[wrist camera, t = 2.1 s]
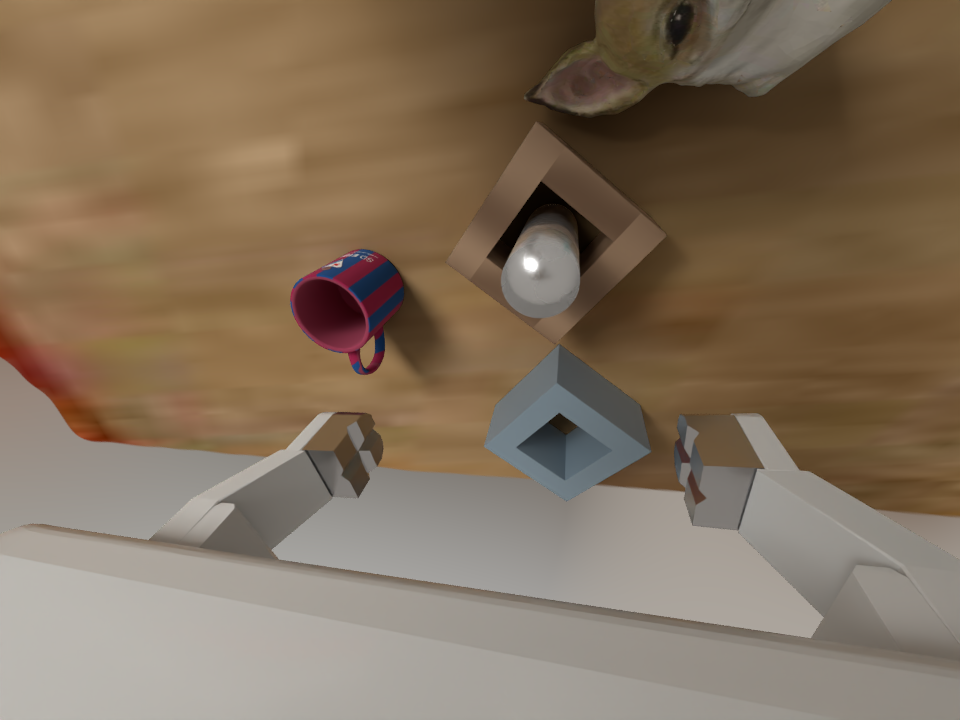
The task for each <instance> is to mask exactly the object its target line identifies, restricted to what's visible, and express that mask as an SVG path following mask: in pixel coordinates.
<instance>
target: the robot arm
mask: <svg viewBox="0 0 960 720" xmlns="http://www.w3.org/2000/svg"><path fill="white" fill-rule="evenodd" d="M374 425H375V422H374V420H373V418H372V416H371V415H370V414H367V413H351V412H323V413H320V414H318V415H317V416H316V417H315V419H314V420H313V421H312V422H311V423H310V424H309V425H308V426H307V427H306V428H305V429H304V430H303V431H302V432H301V434H300V435H299V436H298V437H297V438H296V439H295V440H294V441H293V442H292V443H291V444H290V445H289V446H288V448H287V449H286V450H280V451H278V452H276V453H274V454H272V455H271V456H269V457H267V458H265V459H263V460H261V461H260V462H258V463H256V464H254V465H252V466H251V467H249V468H247V469H245V470H243V471H242V472H240V473H238V474H236V475H234V476H232V477H231V478H229V479H227V480H225V481H223V482H221V483H220V484H218V485H216V486H214V487H212V488H210V489H209V490H207V491H205V492H203V493H201V494H199V495H198V496H196V497H194V498H192V500H190V501H189V502H188V503H187V504H186V505H185V506H184V507H183V508H182V509H181V510H180V511H179V512H178V513H177V514H175V515H174V516H173V517H172V518H171V519H170V520H169V521H168V522H167V523H166V524H165V525H164V526H163V527H162V528H161V529H160V530H159V531H158V532H157V533H155V534H154V535H153V536H152V537H151V538H150V539H149V540H143V539H137V538H131V537H124V536H117V535H110V534H104V533H97V532H90V531H83V530H76V529H70V528H63V527H57V526H51V525H45V524H28V525H23V526H20V527H17V528H14V529H11V530H8V531H6V532H3V533H1V534H0V720H960V560H959V559H958V558H956V557H954V556H953V555H951V554H949V553H948V552H946V551H944V550H942V549H941V548H939V547H937V546H936V545H934V544H932V543H931V542H929V541H927V540H925V539H923V538H922V537H920V536H919V535H916V534H915V533H913V532H912V531H910V530H908V529H906V528H905V527H903V526H902V525H899V524H898V523H896V522H895V521H893V520H891V519H890V518H888V517H886V516H885V515H883V514H881V513H879V512H878V511H876V510H874V509H873V508H871V507H869V506H868V505H866V504H864V503H862V502H861V501H859V500H857V499H856V498H854V497H852V496H851V495H849V494H847V493H845V492H844V491H842V490H840V489H839V488H837V487H835V486H833V485H832V484H830V483H828V482H827V481H825V480H823V479H822V478H820V477H818V476H816V475H815V474H813V473H811V472H810V471H800V470H799V469H798V467H797V466H796V464H795V463H794V461H793V460H792V458H791V457H790V455H789V454H788V453H787V451H786V450H785V448H784V447H783V445H782V444H781V442H780V441H779V439H778V438H777V437H776V435H775V434H774V432H773V431H772V429H771V428H770V426H769V425H768V423H767V422H766V421H765V419H764V418H763V416H761V415H760V414H758V413H745V414H680V416H679V419H678V425H677V429H678V432H679V435H680V438H679V439H678V440H677V441H676V442H675V450H674V458H675V468H676V473H677V477H678V480H679V483H680V484H681V485H683V486H684V487H685V488H686V490H685V497H684V500H685V503H686V506H687V510H688V513H689V516H690V519H691V522H692V525H693V526H701V527H712V528H720V529H721V528H722V529H730V530H739V532H738V533H739V534H740V535H741V536H743V537H744V539H746V541H748V542H749V544H751V545H752V546H753V547H754V548H755V549H756V550H757V551H758V552H759V553H760V554H761V555H762V556H763V557H764V558H765V559H766V560H767V561H768V562H769V563H770V564H771V565H772V566H773V567H774V568H775V569H776V570H777V571H778V572H779V573H780V574H781V575H782V576H783V577H784V578H785V579H786V580H787V581H788V582H789V583H790V584H791V585H792V586H793V587H794V588H795V589H796V590H797V591H798V592H799V593H800V594H801V595H802V596H803V597H804V598H805V599H806V600H807V601H808V602H809V603H810V604H811V605H812V606H813V607H814V608H815V609H816V610H817V611H818V612H819V613H820V614H821V615H822V616H823V617H824V618H823V620H822V621H821V623H820V625H819V627H818V628H817V629H816V631H815V633H814V634H813V636H812V638H805V637H798V636H791V635H785V634H778V633H771V632H764V631H758V630H751V629H744V628H737V627H731V626H724V625H717V624H710V623H704V622H696V621H690V620H683V619H677V618H670V617H663V616H656V615H650V614H643V613H636V612H629V611H623V610H616V609H609V608H602V607H596V606H589V605H582V604H575V603H569V602H562V601H555V600H548V599H542V598H535V597H527V596H521V595H515V594H508V593H501V592H494V591H487V590H481V589H474V588H467V587H460V586H454V585H447V584H440V583H433V582H427V581H419V580H413V579H406V578H399V577H393V576H386V575H379V574H372V573H365V572H359V571H352V570H345V569H338V568H331V567H325V566H318V565H311V564H304V563H298V562H291V561H284V560H279V559H278V558H277V557H276V555H275V554H274V553H273V552H272V551H271V550H272V549H273V548H274V547H275V546H276V545H278V544H279V543H280V542H281V541H282V540H283V539H285V538H286V537H287V536H288V535H290V534H291V533H292V532H293V531H294V530H295V529H297V528H298V527H299V526H300V525H301V524H303V523H304V522H305V521H306V520H307V519H309V518H310V517H311V516H312V515H313V514H315V513H316V512H317V511H318V510H319V509H320V508H321V507H323V506H324V505H325V504H326V503H328V502H329V501H330V500H331V499H332V497H345V498H359V496H360V494H361V493H362V491H363V489H364V488H365V486H366V484H367V483H368V481H369V480H370V477H369V472H370V471H372V470H373V469H375V468H376V467H377V466H378V464H379V462H380V461H381V459H382V454H383V441H382V439H381V436H380V435H379V434H378V433H377V432H376V431H375V430H373V428H374Z"/></svg>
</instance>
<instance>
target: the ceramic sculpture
mask: <svg viewBox="0 0 960 720" xmlns="http://www.w3.org/2000/svg"><path fill="white" fill-rule="evenodd" d="M890 1H892V0H596V1H595V25H596V37H595V39H594V40H593V41H585V42H583V43H580V44H578V45H576V46H574V47H572V48H570V49H569V50H568V51H566V52H565V53H564V54H563V55H562V56H561V57H560V59H559V60H558V61H557V62H556V63H555V64H554V66H553V67H552V68H551V69H550V70H549V72H548V73H547V74H546V75H545V76H544V78H543V79H542V80H541V81H540V82H539V83H538V84H536V85H535V86H534V87H532V88H531V89H530V90H529V91H527V92H526V93H525V95H524V99H525V100H527V101H530V102H533V103H536V104H540V105H545V106H546V107H548V108H549V109H551V110H555V111H559V112H563V113H568V114H571V115H577V116H582V117H586V118H592V117H595V116H599V115H608V114H618V113H620V112H622V111H624V110H626V109H627V108H629V107H631V106H633V105H635V104H637V103H638V102H639V101H641V100H642V99H643V98H644V97H645V96H646V95H647V94H648V93H649V92H650V91H652V90H653V89H654V88H655V87H657V86H658V85H660V84H664V83H676V84H679V85H681V86H683V85H691V86H696V87H701V86H703V85H704V84H728V85H732V86H733V87H735V88H736V89H737V90H739V91H741V92H743V93H745V94H746V95H747V96H749V97H757V96H761V95H764V94H766V93H767V92H768V91H770V90H771V89H772V88H773V87H775V86H776V85H777V84H778V83H780V82H781V81H782V80H784V79H785V78H787V77H788V76H790V75H791V74H792V73H794V72H795V71H797V70H798V69H800V68H801V67H802V66H804V65H805V64H806V63H808V62H809V61H810V60H812V59H813V58H814V57H816V56H817V55H818V54H820V53H821V52H823V51H824V50H825V49H827V48H828V47H829V46H831V45H832V44H834V43H835V42H836V41H838V40H839V39H841V38H842V37H844V36H845V35H847V34H848V33H850V32H851V31H853V30H854V29H856V28H858V27H859V26H861V25H862V24H864V23H865V22H866V21H867V20H868V19H870V18H871V17H872V16H873V15H875V14H876V13H877V12H878V11H880V10H881V9H882V8H883V7H884V6H886V5H887V4H888V3H889V2H890Z"/></svg>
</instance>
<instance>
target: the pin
mask: <svg viewBox="0 0 960 720" xmlns="http://www.w3.org/2000/svg"><path fill="white" fill-rule="evenodd" d="M579 286H580V266H579V242H578V224H577V221H576V218H575V216H574V215H573V213H572V212H571V211H570V210H569V209H568V208H566V207H564V206H562V205H559V204H547V205H543V206H541V207H539V208H538V209H536V210H535V211H534V212H533V213H532V214H531V215H530V217H529V218H528V220H527V222H526V224H525V226H524V228H523V230H522V232H521V234H520V236H519V238H518V240H517V242H516V244H515V246H514V248H513V250H512V252H511V254H510V256H509V258H508V260H507V262H506V264H505V266H504V268H503V271H502V275H501V287H502V291H503V294H504V297H505V298H506V300H507V302H508V303H509V304H510V305H511V306H512V307H513V308H514V309H515V310H516V311H518V312H519V313H521V314H523V315H525V316H528V317H532V318H548V317H552V316H555V315H557V314H559V313H561V312H563V311H564V310H566V309H567V308H568V307H569V306H570V305H571V304H572V303H573V301H574V300H575V298H576V296H577V294H578V291H579Z"/></svg>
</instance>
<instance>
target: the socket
mask: <svg viewBox="0 0 960 720" xmlns="http://www.w3.org/2000/svg"><path fill="white" fill-rule="evenodd" d="M558 413H560V414H562V415H563V416H565V417H566V418H567V419H569V420H570V421H572V422H573V423H574V424H576V425H577V426H578V427H576V428H575V429H574V430H572V431H571V432H570V433H568V434H567V435H565V434H564V433H562V432H561V431H560V430H558V429H557V428H555V427H554V426H552V425H551V424H550V423H548V421H550V420H551V419H552V418H553V417H555V416H556V415H557V414H558ZM484 447H485V448H487V449H488V450H490V451H491V452H493V453H494V454H496V455H497V456H499V457H500V458H502V459H503V460H505V461H506V462H508V463H509V464H511V465H512V466H514V467H515V468H517V469H519V470H520V471H522V472H523V473H525V474H526V475H528V476H529V477H531V478H532V479H534V480H535V481H537V482H538V483H540V484H541V485H543V486H544V487H546V488H547V489H549V490H550V491H552V492H553V493H555V494H556V495H558V496H559V497H561V498H562V499H564V500H566V501H568V500H570V499H572V498H574V497H575V496H577V495H579V494H580V493H582V492H584V491H586V490H587V489H589V488H591V487H592V486H594V485H596V484H598V483H599V482H601V481H603V480H604V479H606V478H608V477H609V476H611V475H613V474H615V473H616V472H618V471H620V470H621V469H623V468H625V467H627V466H628V465H630V464H632V463H633V462H635V461H637V460H639V459H640V458H642V457H644V456H645V455H647V454H649V453H650V452H651V448H650V444H649V440H648V436H647V432H646V427H645V423H644V419H643V415H642V411H641V407H640V404H638V403H637V402H636V401H634V400H633V399H632V398H630V397H629V396H628V395H626V394H625V393H624V392H622V391H621V390H620V389H618V388H617V387H616V386H614V385H613V384H612V383H610V382H609V381H608V380H606V379H605V378H604V377H602V376H601V375H600V374H598V373H597V372H596V371H594V370H593V369H592V368H590V367H589V366H588V365H586V364H585V363H584V362H582V361H581V360H580V359H578V358H577V357H576V356H574V355H573V354H572V353H570V352H569V351H568V350H566V349H565V348H564V347H562V346H561V345H560V344H559V345H558V346H557V347H556V348H555V349H554V350H553V351H552V352H551V353H549V354H548V355H547V356H546V357H545V358H544V359H543V360H542V361H541V362H540V363H539V364H538V365H537V366H536V367H535V368H534V369H533V370H532V371H531V372H530V373H529V374H528V375H527V376H525V377H524V378H523V379H522V380H521V381H520V382H519V383H518V384H517V385H516V386H515V387H514V388H513V389H512V390H511V391H510V392H509V393H508V394H507V395H506V396H505V397H504V398H503V399H501V400H500V401H499V402H498V403H497V404H496V405H495V409H494V413H493V416H492V420H491V423H490V427H489V430H488V434H487V437H486V441H485V444H484Z"/></svg>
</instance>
